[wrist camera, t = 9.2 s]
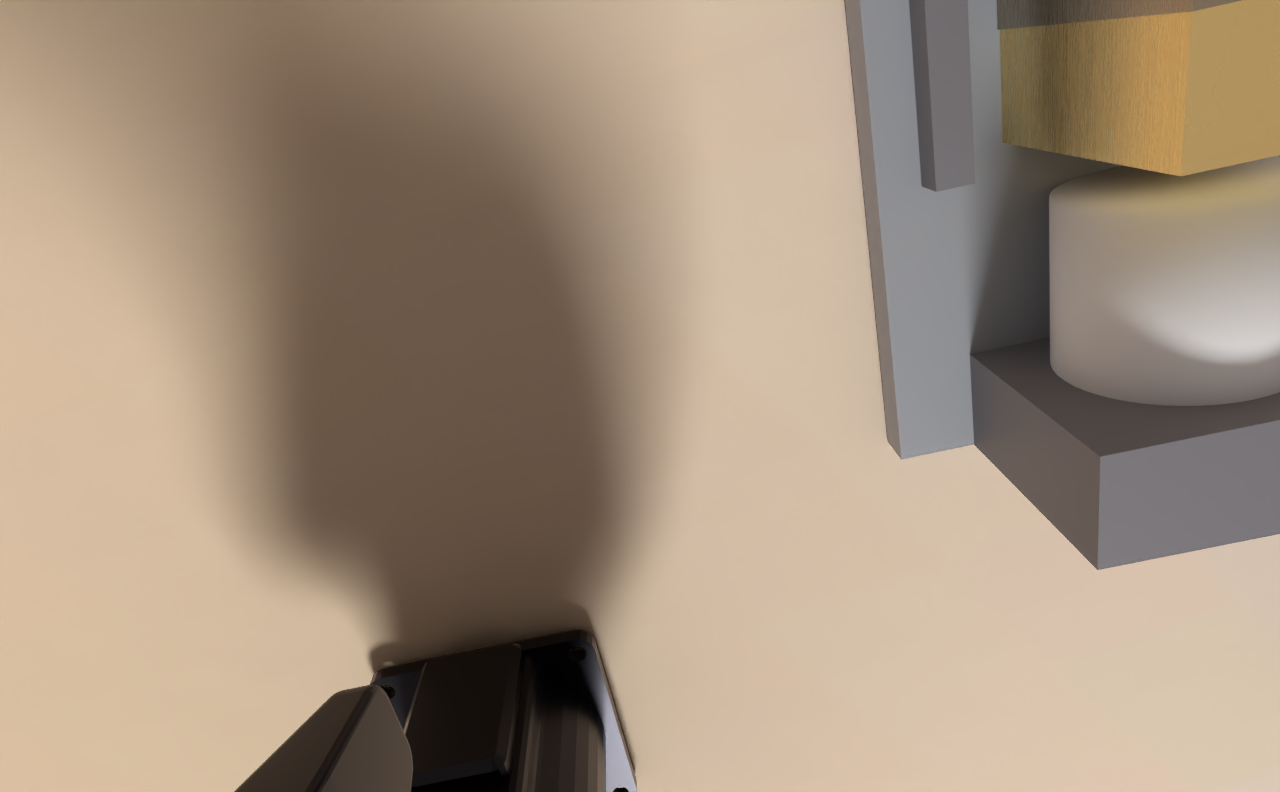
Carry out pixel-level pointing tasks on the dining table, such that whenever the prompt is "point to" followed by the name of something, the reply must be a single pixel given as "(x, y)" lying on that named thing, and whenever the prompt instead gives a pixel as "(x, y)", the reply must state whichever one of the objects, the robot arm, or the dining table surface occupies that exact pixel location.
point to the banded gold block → (1143, 80)
